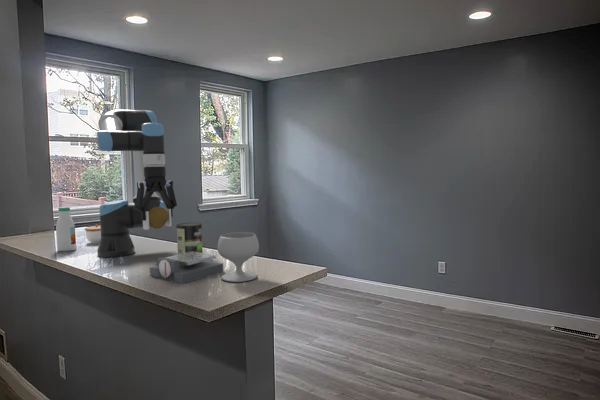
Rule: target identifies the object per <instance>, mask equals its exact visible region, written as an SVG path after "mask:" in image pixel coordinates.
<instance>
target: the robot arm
mask: <svg viewBox="0 0 600 400" xmlns="http://www.w3.org/2000/svg"><path fill="white" fill-rule="evenodd" d="M98 119H99V120H98V122H97V124H98V129H99V130H98V131H97V132H96V133H97V135H96V136H97V137H96V138H97V150H98V151H100V152H132V153H133V154H132V156H133V170H134V184H135V195H134V196H133V198H132V202H129V200H127V199H119V200H113V201H108V202H105V203H102V204H100V206H99V215H98V216H99V226H100V228H101V240H100V243H98V247H97V251H96V252H97V256H98V257H101V258H116V257H125V256H129V255H132V254H134V253H135V251H136V250H135V248H136V247H135V245H134V242H133V240H132V238H131V233H130V230H132V229H133V230H136V229H142V230H146V231H149V230H150V228H151V229H152V227H151V226H150V225H149V211H150V210H151V209H152V208H154V207H162V208H164V209H165V210H166V211H167V213H168V220H167V222H165V224H164V225H165V227H172V223H173V222H172V218H173V216H174V215H173V209H175V207H178V203H177V200H176V194H175V190H174V181H173V180H166V175H167V173H166V172H167V170H166V166H165V165H166V155H165V154H166V153H165V131H164V130H165V129H164V125H163V124H161V123H160V122H159V123H158V120H157V119H158V118H157V116H156V114H155V112H154V111H152V110H148V109H147V110H146V109H113V110H110V111H106V112H105V113H103V114H102V115H101V116H100V118H98ZM157 192H158V193H159V195H160V196H159V195H158V194H157ZM161 199H162V200H161ZM165 207H166V208H165Z"/></svg>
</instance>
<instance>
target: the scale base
mask: <svg viewBox="0 0 600 400" xmlns="http://www.w3.org/2000/svg"><path fill="white" fill-rule="evenodd" d="M156 261H157V265H154V266H150V267H149V276H151V277H155V278H159V279H162V280H163V279H164V280H167V281H172V282H175V283H180V284H186V283H189V282H190V283H191V282H193V281H196V280H199V279H202V278H203V279H204V278H207V277H210V276H213V275H217V274H220V273H222V272H224V263H223V262H216V261H213V260H212V261H207V260H206V261H202V262H199V263H195V264H191V265H183V264H179V261H178V260H174V259H169V258H165V257H163V256H161V257H158V258H156Z"/></svg>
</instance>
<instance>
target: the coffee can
mask: <svg viewBox="0 0 600 400" xmlns="http://www.w3.org/2000/svg"><path fill="white" fill-rule="evenodd" d="M202 225H203V224H202V222H201V223H200V222H183V223H178V224H176V226H175V227H176V239H177V240H176V241H177V246H176V247H177V255H178V254H183V253H187V252H191V251H193V252H199V253H204V252H203V232H202V230H203V227H202Z"/></svg>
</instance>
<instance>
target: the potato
mask: <svg viewBox="0 0 600 400" xmlns="http://www.w3.org/2000/svg"><path fill="white" fill-rule="evenodd" d="M165 209H166V208H165V207H164V208H162V207H154V208H152V209H151V210H150V211H149V225H150V226H151V227H152V228H153V229H155V230H156V229H161V228H162V227H164V225H166V224H165V222H167V220H168V213H167V211H166V210H165ZM152 228H151V229H152Z"/></svg>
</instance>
